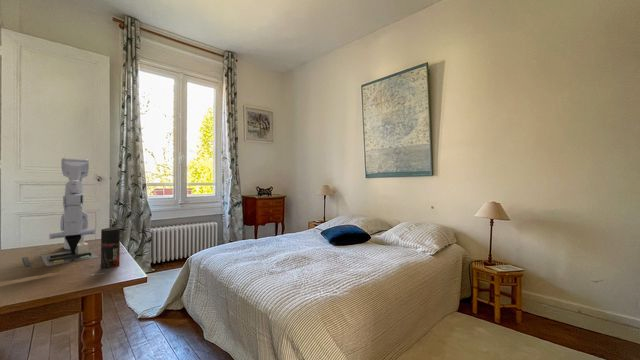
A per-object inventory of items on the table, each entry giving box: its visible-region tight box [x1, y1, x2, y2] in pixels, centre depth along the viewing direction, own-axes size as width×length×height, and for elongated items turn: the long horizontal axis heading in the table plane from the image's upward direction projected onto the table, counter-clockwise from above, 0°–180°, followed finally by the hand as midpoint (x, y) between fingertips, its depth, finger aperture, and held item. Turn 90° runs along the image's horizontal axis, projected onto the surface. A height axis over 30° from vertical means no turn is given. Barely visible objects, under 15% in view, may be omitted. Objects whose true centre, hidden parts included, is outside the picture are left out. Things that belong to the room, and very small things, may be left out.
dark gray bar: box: [22, 256, 32, 268], centre depth 108 cm, size 16×1×1 cm, turn 50°
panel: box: [40, 248, 99, 267], centre depth 117 cm, size 20×16×2 cm
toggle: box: [75, 242, 90, 255], centre depth 120 cm, size 4×4×5 cm
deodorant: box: [100, 227, 121, 270], centre depth 109 cm, size 6×6×15 cm
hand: (72, 252), depth 118 cm, fingers closed
